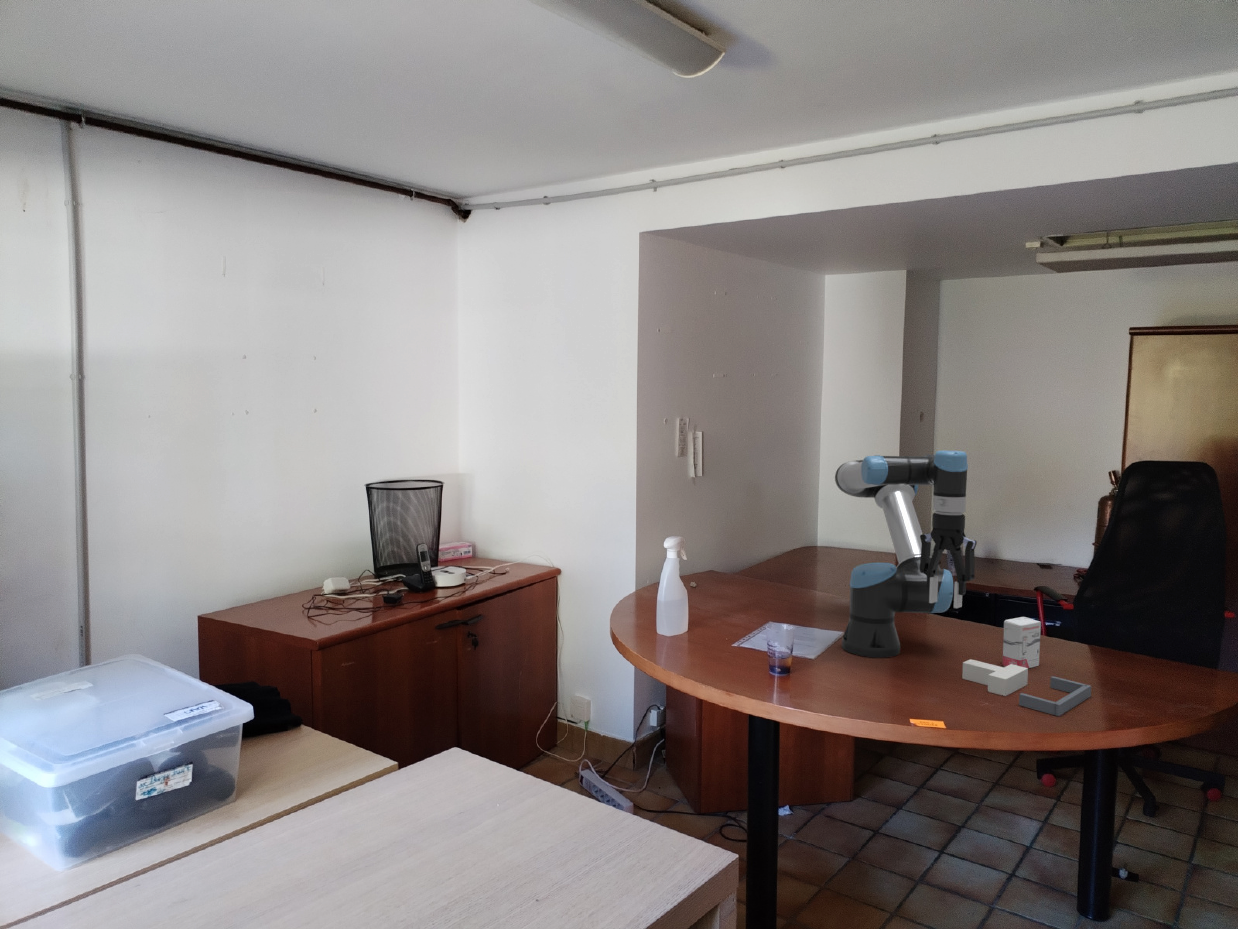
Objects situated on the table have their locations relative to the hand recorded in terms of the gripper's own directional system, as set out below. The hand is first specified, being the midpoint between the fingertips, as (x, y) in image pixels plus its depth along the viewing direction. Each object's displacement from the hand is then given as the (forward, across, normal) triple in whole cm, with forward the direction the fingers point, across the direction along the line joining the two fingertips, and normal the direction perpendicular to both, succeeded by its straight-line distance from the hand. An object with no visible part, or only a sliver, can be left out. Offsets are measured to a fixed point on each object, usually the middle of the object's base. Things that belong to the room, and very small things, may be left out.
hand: (945, 604), depth 197 cm
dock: (+17, +27, 0) cm, 32 cm away
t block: (+17, +12, 0) cm, 21 cm away
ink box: (+17, +11, +19) cm, 28 cm away
